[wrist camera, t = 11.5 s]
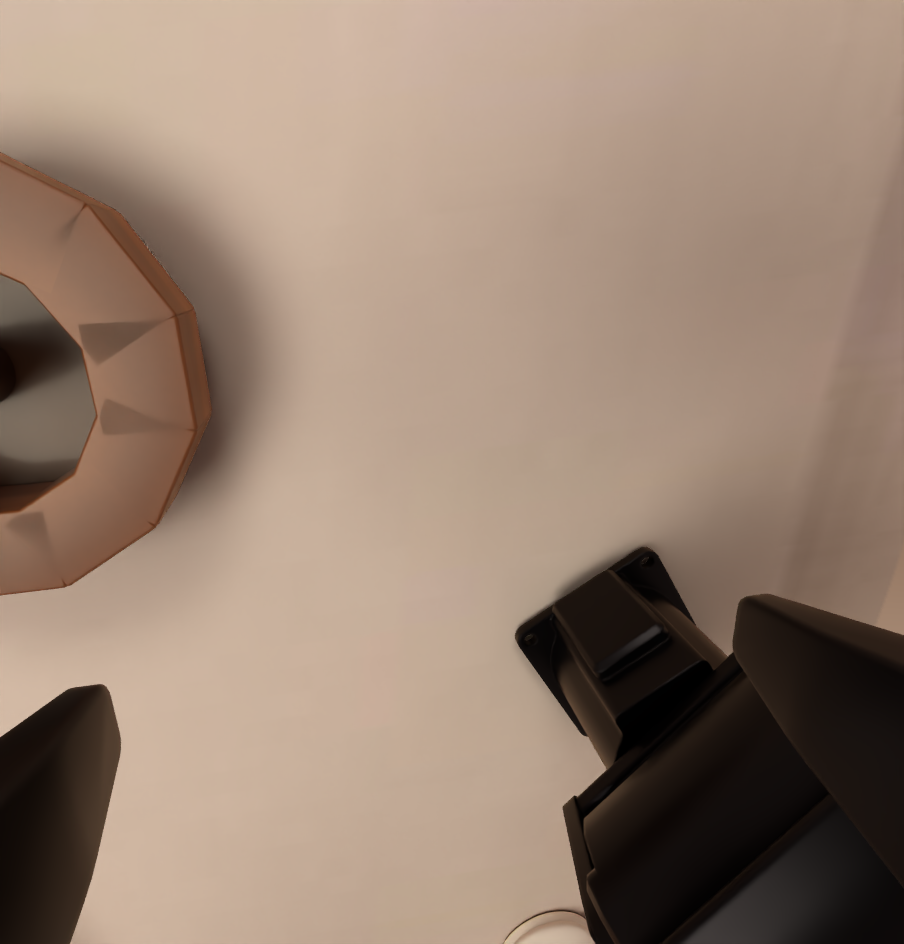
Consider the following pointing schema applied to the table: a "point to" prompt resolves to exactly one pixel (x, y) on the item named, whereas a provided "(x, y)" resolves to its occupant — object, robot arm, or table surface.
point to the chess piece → (552, 930)
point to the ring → (100, 381)
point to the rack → (39, 392)
